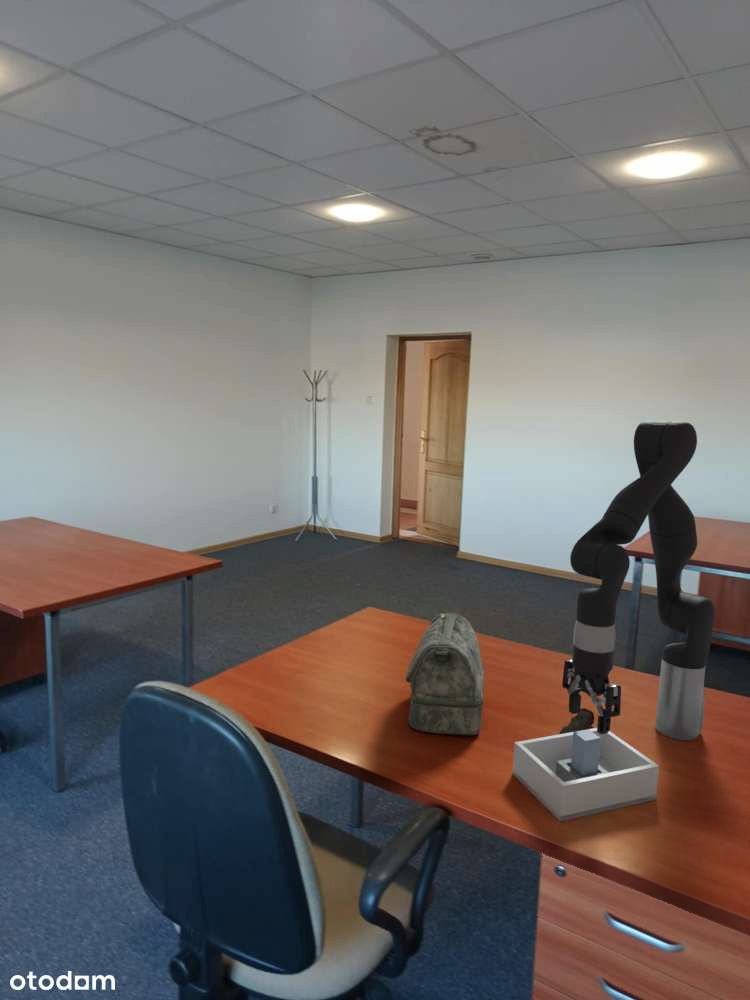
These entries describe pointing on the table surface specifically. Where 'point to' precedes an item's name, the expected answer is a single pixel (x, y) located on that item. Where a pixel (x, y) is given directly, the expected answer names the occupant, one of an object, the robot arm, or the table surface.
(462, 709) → the lunch bag
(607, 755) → the walled box
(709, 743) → the table surface
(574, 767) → the plug
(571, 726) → the hand tool
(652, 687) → the table surface
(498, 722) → the table surface
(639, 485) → the robot arm
